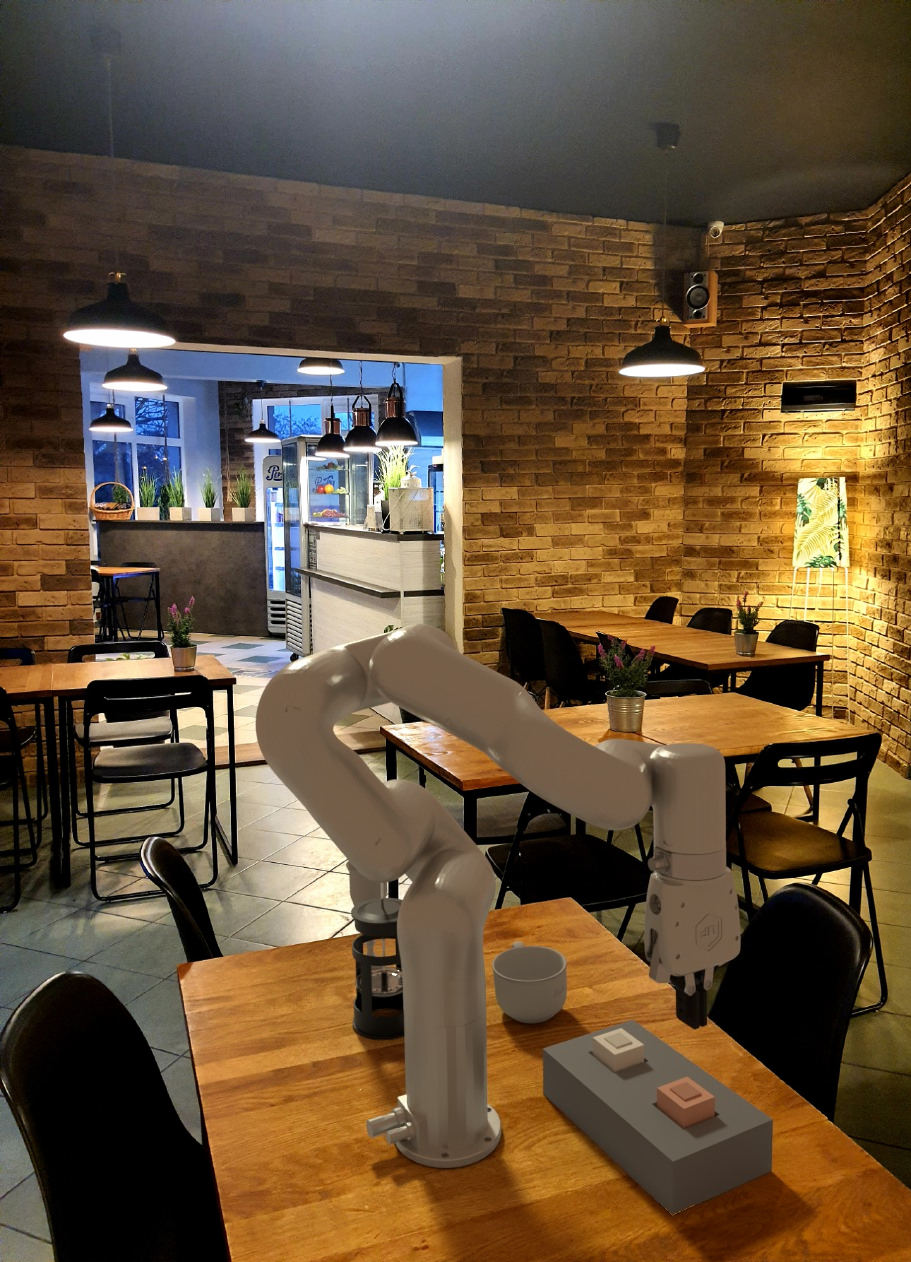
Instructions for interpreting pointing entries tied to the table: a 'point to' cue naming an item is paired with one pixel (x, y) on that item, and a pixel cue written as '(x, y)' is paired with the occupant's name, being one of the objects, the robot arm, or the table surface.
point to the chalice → (364, 896)
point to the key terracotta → (685, 1102)
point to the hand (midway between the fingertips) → (691, 1021)
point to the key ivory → (618, 1050)
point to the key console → (658, 1120)
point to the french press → (377, 970)
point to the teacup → (530, 982)
